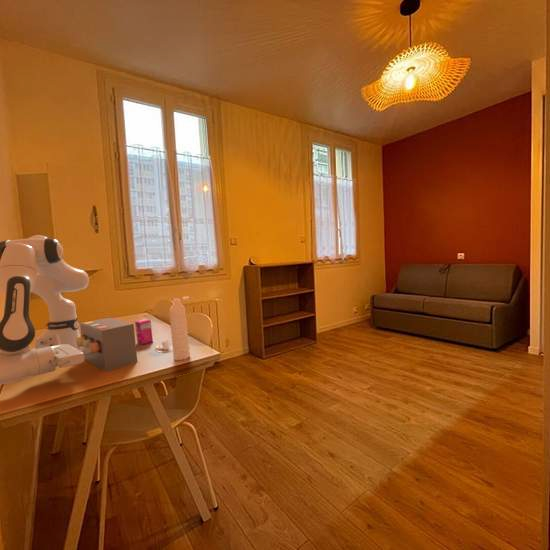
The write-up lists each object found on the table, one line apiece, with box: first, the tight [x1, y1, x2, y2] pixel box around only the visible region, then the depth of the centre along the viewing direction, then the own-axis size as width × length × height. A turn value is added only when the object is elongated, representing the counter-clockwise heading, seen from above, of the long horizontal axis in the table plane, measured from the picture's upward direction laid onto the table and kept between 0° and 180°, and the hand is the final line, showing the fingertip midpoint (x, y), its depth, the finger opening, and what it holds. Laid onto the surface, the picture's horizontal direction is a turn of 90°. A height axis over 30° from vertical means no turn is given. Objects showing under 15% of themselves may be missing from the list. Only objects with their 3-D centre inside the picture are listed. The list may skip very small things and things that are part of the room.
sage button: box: [81, 339, 93, 347], centre depth 125 cm, size 3×4×4 cm
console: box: [79, 317, 138, 372], centre depth 130 cm, size 12×26×16 cm, turn 48°
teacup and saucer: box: [154, 340, 173, 353], centre depth 142 cm, size 9×8×4 cm
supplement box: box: [134, 318, 154, 346], centre depth 155 cm, size 6×6×12 cm
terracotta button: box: [89, 342, 101, 354], centre depth 119 cm, size 3×4×4 cm
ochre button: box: [76, 336, 87, 348], centre depth 130 cm, size 3×4×4 cm
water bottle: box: [169, 296, 191, 361], centre depth 128 cm, size 9×6×25 cm
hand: (90, 348), depth 118 cm, fingers closed
